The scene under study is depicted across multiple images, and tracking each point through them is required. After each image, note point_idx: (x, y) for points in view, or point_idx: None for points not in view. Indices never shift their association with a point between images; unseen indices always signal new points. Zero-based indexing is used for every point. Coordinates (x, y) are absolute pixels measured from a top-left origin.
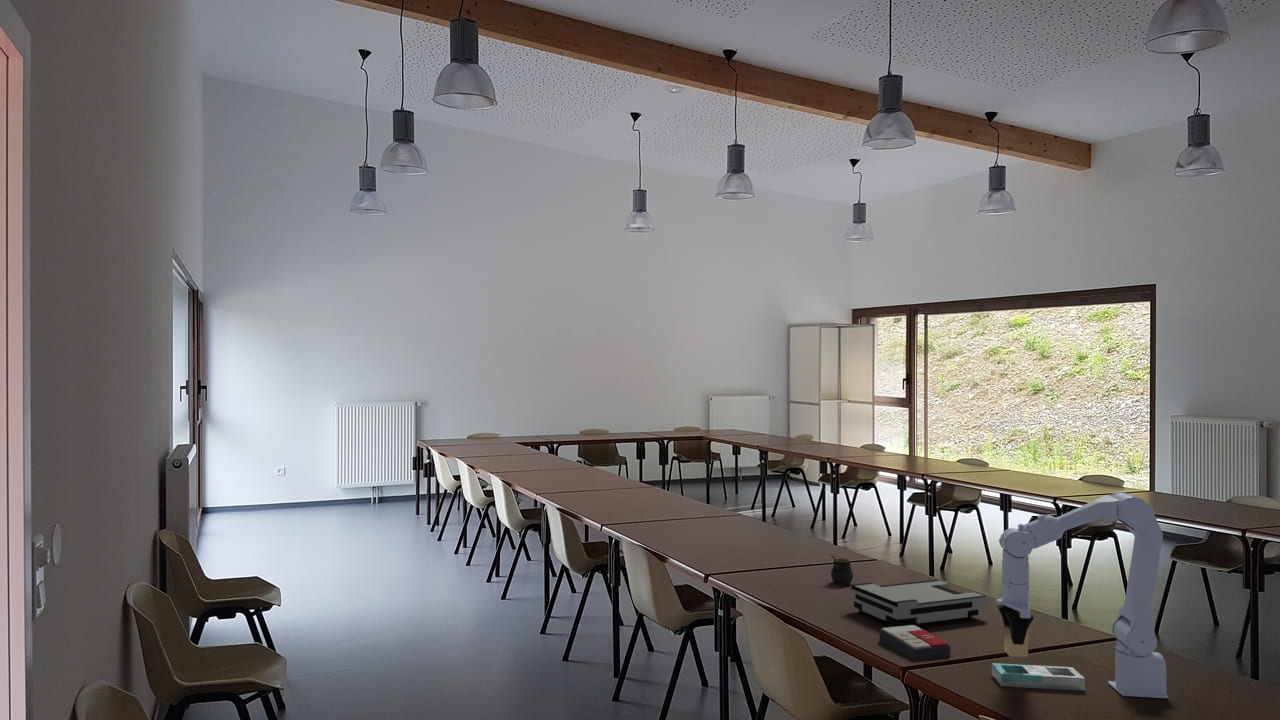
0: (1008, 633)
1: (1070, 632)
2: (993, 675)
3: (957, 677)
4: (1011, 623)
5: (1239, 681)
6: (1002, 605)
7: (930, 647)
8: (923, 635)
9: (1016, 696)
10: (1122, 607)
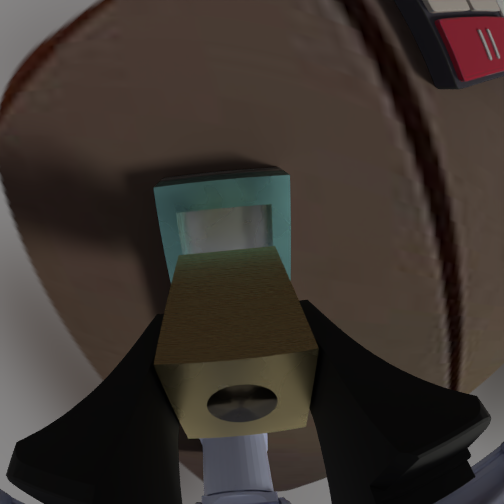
0: (198, 331)
1: (486, 366)
2: (259, 168)
3: (225, 36)
4: (63, 417)
5: (299, 483)
6: (468, 444)
7: (428, 12)
8: (490, 33)
9: (87, 213)
10: None
